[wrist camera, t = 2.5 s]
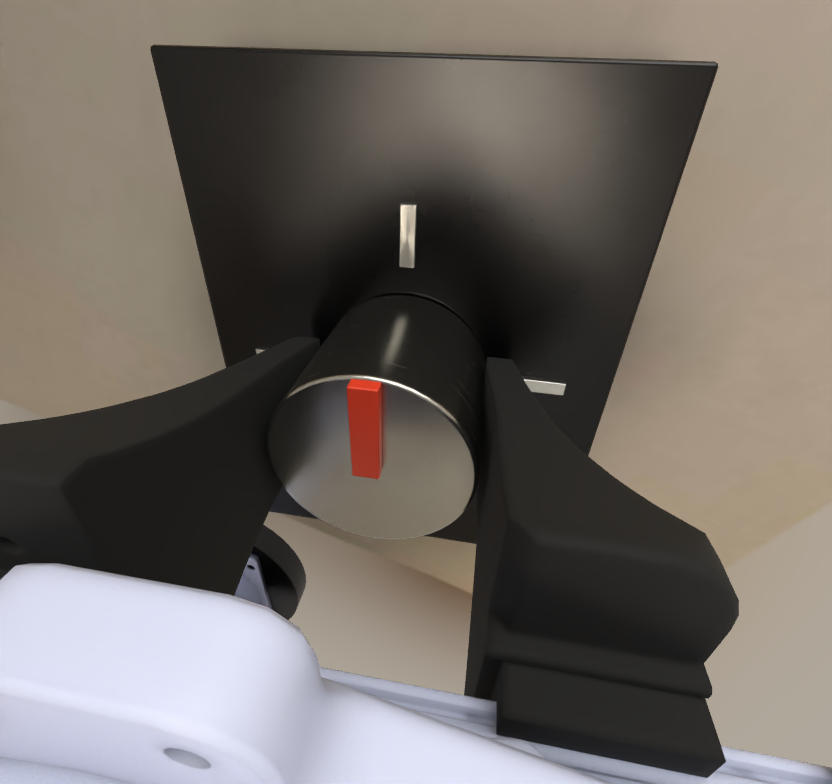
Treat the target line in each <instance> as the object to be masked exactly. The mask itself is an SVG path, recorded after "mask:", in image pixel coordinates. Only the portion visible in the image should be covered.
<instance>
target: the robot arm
mask: <svg viewBox="0 0 832 784" xmlns="http://www.w3.org/2000/svg"><path fill="white" fill-rule="evenodd" d="M319 349H320V339H318V338H309V337H300V336H297V337H294V338H291V339H289V340H286V341H284V342H282V343H279V344H277V345H275V346H273V347H271V348H269V349H267V350H265V351H262V352H260V353H258V354H256V355H254V356H252V357H250V358H248V359H246V360H243V361H241V362H239V363H237V364H235V365H232V366H230V367H228V368H225V369H223V370H221V371H218V372H216V373H214V374H211V375H209V376H207V377H205V378H202V379H199V380H197V381H194V382H192V383H189V384H186V385H183V386H180V387H177V388H174V389H171V390H168V391H165V392H162V393H159V394H156V395H152V396H148V397H144V398H141V399H137V400H133V401H129V402H125V403H122V404H118V405H114V406H110V407H105V408H101V409H96V410H91V411H86V412H81V413H75V414H70V415H64V416H59V417H53V418H47V419H40V420H32V421H24V422H17V423H10V424H1V425H0V784H832V768H830V767H825V766H820V765H815V764H809V763H805V762H800V761H795V760H789V759H785V758H779V757H774V756H769V755H764V754H759V753H754V752H749V751H744V750H739V749H734V748H729V747H724V746H721V745H720V742H719V739H718V736H717V733H716V730H715V727H714V724H713V721H712V718H711V715H710V712H709V709H708V706H707V703H706V700H705V698H709V697H710V696H711V695H712V686H711V683H710V680H709V677H708V675H707V672H706V669H705V666H704V662H705V661H706V660H707V659H708V658H709V656H710V655H711V654H712V653H713V651H714V650H715V649H716V648H717V646H718V645H719V644H720V643H721V641H722V640H723V639H724V638H725V636H726V635H727V634H728V633H729V632H730V630H731V629H732V627H733V625H734V623H735V621H736V619H737V617H738V615H739V604H738V603H739V600H738V598H737V596H736V594H735V591H734V589H733V587H732V585H731V583H730V581H729V578H728V576H727V574H726V572H725V569H724V567H723V565H722V563H721V561H720V559H719V557H718V555H717V554H716V552H715V550H714V548H713V547H712V545H711V543H710V541H709V540H708V538H707V536H706V534H705V533H704V532H702V531H700V530H698V529H696V528H695V527H693V526H691V525H689V524H688V523H686V522H684V521H682V520H681V519H679V518H677V517H675V516H674V515H672V514H670V513H668V512H666V511H665V510H663V509H661V508H659V507H658V506H656V505H654V504H653V503H651V502H650V501H648V500H647V499H645V498H644V497H642V496H641V495H639V494H637V493H636V492H634V491H633V490H631V489H630V488H628V487H627V486H626V485H624V484H623V483H621V482H620V481H619V480H617V479H616V478H614V477H613V476H612V475H610V474H609V473H608V472H607V471H605V470H604V469H603V468H602V467H600V466H599V465H598V464H597V463H596V462H594V461H593V460H592V459H591V458H589V457H588V456H587V455H586V454H585V453H584V452H583V451H581V450H580V449H579V448H578V447H577V446H576V445H575V444H574V443H573V442H572V441H571V440H570V439H569V438H568V437H567V436H566V435H565V434H564V433H563V432H562V431H561V430H560V429H559V428H558V426H557V425H556V424H555V423H554V422H553V420H552V419H551V418H550V417H549V416H548V414H547V413H546V412H545V410H544V409H543V408H542V406H541V405H540V404H539V402H538V401H537V399H536V398H535V396H534V395H533V394H532V392H531V390H530V389H529V387H528V386H527V384H526V383H525V381H524V379H523V378H522V376H521V374H520V372H519V370H518V369H517V367H516V365H515V363H514V362H513V361H512V360H511V359H502V358H493V357H487V364H486V371H485V378H484V393H483V417H482V433H481V448H480V464H479V480H478V485H477V489H476V497H477V546H476V559H475V573H474V585H473V598H472V611H471V623H470V635H469V647H468V659H467V670H466V681H465V693H464V695H460V694H454V693H449V692H444V691H440V690H435V689H430V688H424V687H419V686H414V685H409V684H404V683H399V682H393V681H389V680H383V679H379V678H374V677H369V676H364V675H358V674H353V673H348V672H343V671H338V670H332V669H328V668H323V667H319V663H318V659H317V657H316V655H315V653H314V651H313V649H312V647H311V646H310V644H309V642H308V641H307V639H306V638H305V636H304V634H303V633H302V631H301V630H300V628H299V627H297V626H296V625H294V624H293V623H291V622H290V621H288V620H287V619H285V618H284V617H282V616H281V615H279V614H278V613H276V612H275V611H273V609H272V605H271V602H270V598H269V594H268V590H267V586H266V583H265V579H264V575H263V571H262V567H261V564H260V560H259V558H258V556H257V555H255V554H253V553H251V552H252V549H253V547H254V544H255V542H256V539H257V537H258V535H259V533H260V530H261V528H262V526H263V523H264V521H265V519H266V517H267V514H268V512H269V510H270V508H271V506H272V504H273V502H274V500H275V498H276V496H277V494H278V493H279V491H280V489H281V487H282V484H281V483H280V481H279V479H278V478H277V476H276V474H275V472H274V470H273V468H272V465H271V462H270V459H269V455H268V448H267V434H268V428H269V423H270V420H271V418H272V415H273V413H274V411H275V410H276V408H277V407H278V405H279V404H280V402H281V401H282V400H283V398H284V397H285V395H286V394H287V393H288V391H289V390H290V389H291V387H292V386H293V384H294V383H295V382H296V380H297V379H298V378H299V376H300V375H301V373H302V372H303V371H304V369H305V368H306V367H307V365H308V364H309V362H310V361H311V360H312V358H313V357H314V356H315V354H316V353H317V351H318V350H319Z"/></svg>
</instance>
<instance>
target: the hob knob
mask: <svg viewBox="0 0 832 784" xmlns="http://www.w3.org/2000/svg"><path fill="white" fill-rule="evenodd" d="M484 378H485V362H484V358H483V354H482V351H481V348H480V346H479V343H478V341H477V340H476V338H475V336H474V335H473V333H472V332H471V331H470V329H469V328H468V327H467V325H466V324H465V323H463V322H462V321H461V320H460V319H459V318H458V317H457V316H456V315H454V314H453V313H452V312H450V311H449V310H447V309H446V308H444V307H442V306H440V305H438V304H436V303H434V302H431V301H429V300H426V299H422V298H419V297H413V296H407V295H390V296H382V297H378V298H374V299H371V300H368V301H366V302H363V303H361V304H360V305H358V306H356V307H354V308H353V309H352V310H351V311H349V312H348V313H347V314H346V315H345V316H344V317H343V318H342V319H341V320H340V321H339V323H338V324H337V325H336V327H335V328H334V330H333V331H332V332H331V334H330V335H329V336H328V338H327V339H326V341H325V342H324V343H323V345H322V346H321V347H320V349H319V350H318V351H317V353H316V354H315V356H314V357H313V358H312V360H311V361H310V362H309V364H308V365H307V367H306V368H305V369H304V371H303V372H302V373H301V375H300V376H299V378H298V379H297V380H296V382H295V383H294V384H293V386H292V387H291V389H290V390H289V391H288V393H287V394H286V395H285V397H284V398H283V400H282V401H281V402H280V404H279V405H278V407H277V408H276V410H275V411H274V413H273V415H272V418H271V420H270V423H269V428H268V434H267V448H268V455H269V459H270V462H271V465H272V468H273V470H274V472H275V474H276V476H277V478H278V479H279V481H280V483H281V484H282V486H283V487H284V488H285V489H286V491H287V492H288V493H289V494H290V495H291V496H292V497H293V498H294V499H295V501H296V502H298V503H299V504H300V505H301V506H302V507H303V508H305V509H306V510H307V511H309V512H310V513H312V514H313V515H314V516H316V517H318V518H319V519H321V520H323V521H324V522H326V523H328V524H330V525H333V526H335V527H337V528H339V529H342V530H345V531H347V532H350V533H354V534H357V535H361V536H366V537H371V538H379V539H409V538H415V537H420V536H424V535H427V534H431V533H433V532H436V531H438V530H440V529H442V528H444V527H446V526H448V525H449V524H451V523H452V522H453V521H455V520H456V519H457V518H458V517H459V516H460V515H461V514H462V513H463V512H464V511H465V510H466V508H467V507H468V505H469V504H470V502H471V501H472V499H473V497H474V495H475V492H476V489H477V485H478V480H479V464H480V448H481V433H482V417H483V393H484Z"/></svg>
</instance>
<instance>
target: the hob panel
mask: <svg viewBox="0 0 832 784" xmlns="http://www.w3.org/2000/svg"><path fill="white" fill-rule="evenodd" d="M151 54H152V58H153V62H154V66H155V70H156V75H157V79H158V83H159V87H160V91H161V96H162V100H163V104H164V108H165V112H166V117H167V121H168V125H169V129H170V134H171V138H172V142H173V146H174V150H175V155H176V159H177V163H178V167H179V171H180V176H181V180H182V184H183V188H184V192H185V197H186V201H187V205H188V209H189V214H190V218H191V222H192V226H193V230H194V235H195V239H196V243H197V247H198V251H199V256H200V260H201V264H202V268H203V272H204V277H205V281H206V285H207V289H208V293H209V298H210V302H211V306H212V310H213V315H214V319H215V323H216V327H217V331H218V336H219V340H220V344H221V348H222V352H223V357H224V361H225V365H226V368H228V367H230V366H232V365H235V364H237V363H239V362H241V361H243V360H246V359H248V358H250V357H252V356H254V355H256V354H258V353H260V352H262V351H265V350H267V349H269V348H271V347H273V346H275V345H277V344H279V343H282V342H284V341H286V340H289V339H291V338H294V337H297V336H300V337H309V338H318V339H320V347H321V346H322V345H323V343H324V342H325V341H326V339H327V338H328V336H329V335H330V334H331V332H332V331H333V330H334V328H335V327H336V325H337V324H338V323H339V321H340V320H341V319H342V318H343V317H344V316H345V315H346V314H347V313H348V312H349V311H351V310H352V309H353V308H354V307H356V306H358V305H360V304H361V303H363V302H366V301H368V300H371V299H374V298H378V297H382V296H390V295H407V296H413V297H419V298H422V299H426V300H429V301H431V302H434V303H436V304H438V305H440V306H442V307H444V308H446V309H447V310H449V311H450V312H452V313H453V314H454V315H456V316H457V317H458V318H459V319H460V320H461V321H462V322H463V323H465V324H466V325H467V327H468V328H469V329H470V331H471V332H472V333H473V335H474V336H475V338H476V340H477V341H478V343H479V346H480V348H481V351H482V354H483V358H484V362H485V371H486V364H487V357H493V358H502V359H511V360H512V361H513V362H514V363H515V365H516V367H517V369H518V370H519V372H520V374H521V376H522V378H523V379H524V381H525V383H526V384H527V386H528V387H529V389H530V390H531V392H532V394H533V395H534V396H535V398H536V399H537V401H538V402H539V404H540V405H541V406H542V408H543V409H544V410H545V412H546V413H547V414H548V416H549V417H550V418H551V419H552V420H553V422H554V423H555V424H556V425H557V426H558V428H559V429H560V430H561V431H562V432H563V433H564V434H565V435H566V436H567V437H568V438H569V439H570V440H571V441H572V442H573V443H574V444H575V445H576V446H577V447H578V448H579V449H580V450H581V451H583V452H584V453H585V454H586V455H587V456H588V455H589V452H590V449H591V446H592V443H593V440H594V437H595V434H596V431H597V428H598V425H599V422H600V419H601V416H602V413H603V410H604V407H605V404H606V401H607V398H608V395H609V392H610V389H611V386H612V383H613V380H614V377H615V374H616V371H617V368H618V365H619V362H620V359H621V356H622V353H623V350H624V347H625V344H626V341H627V338H628V335H629V332H630V329H631V326H632V323H633V320H634V317H635V314H636V311H637V308H638V306H639V303H640V300H641V297H642V294H643V291H644V288H645V285H646V282H647V279H648V276H649V273H650V270H651V267H652V264H653V261H654V258H655V255H656V252H657V249H658V246H659V243H660V240H661V237H662V234H663V231H664V228H665V225H666V222H667V219H668V216H669V213H670V210H671V207H672V204H673V201H674V198H675V195H676V192H677V189H678V186H679V183H680V180H681V177H682V174H683V171H684V168H685V165H686V162H687V159H688V156H689V153H690V150H691V147H692V144H693V141H694V138H695V135H696V132H697V129H698V126H699V123H700V120H701V117H702V114H703V111H704V108H705V105H706V102H707V99H708V96H709V93H710V90H711V87H712V84H713V81H714V78H715V75H716V72H717V69H718V63H716V62H707V61H674V60H642V59H609V58H576V57H543V56H510V55H478V54H445V53H412V52H379V51H347V50H314V49H281V48H248V47H216V46H183V45H153V46H151ZM269 511H270V512H276V513H282V514H289V515H295V516H301V517H308V518H314V519H319V518H318V517H316V516H314V515H313V514H312V513H310V512H309V511H307V510H306V509H305V508H303V507H302V506H301V505H300V504H299V503H298V502H296V501H295V499H294V498H293V497H292V496H291V495H290V494H289V493H288V492H287V491H286V489H285V488H284V487H283V486H282V487H281V489H280V491H279V493H278V494H277V496H276V498H275V500H274V502H273V504H272V506H271V508H270V510H269ZM424 536H429V537H435V538H442V539H448V540H455V541H461V542H467V543H474V544H477V497H476V492H475V495H474V497H473V499H472V501H471V502H470V504H469V505H468V507H467V508H466V510H465V511H464V512H463V513H462V514H461V515H460V516H459V517H458V518H457V519H456V520H455V521H453V522H452V523H451V524H449V525H448V526H446V527H444V528H442V529H440V530H438V531H436V532H433V533H431V534H427V535H424Z"/></svg>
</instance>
